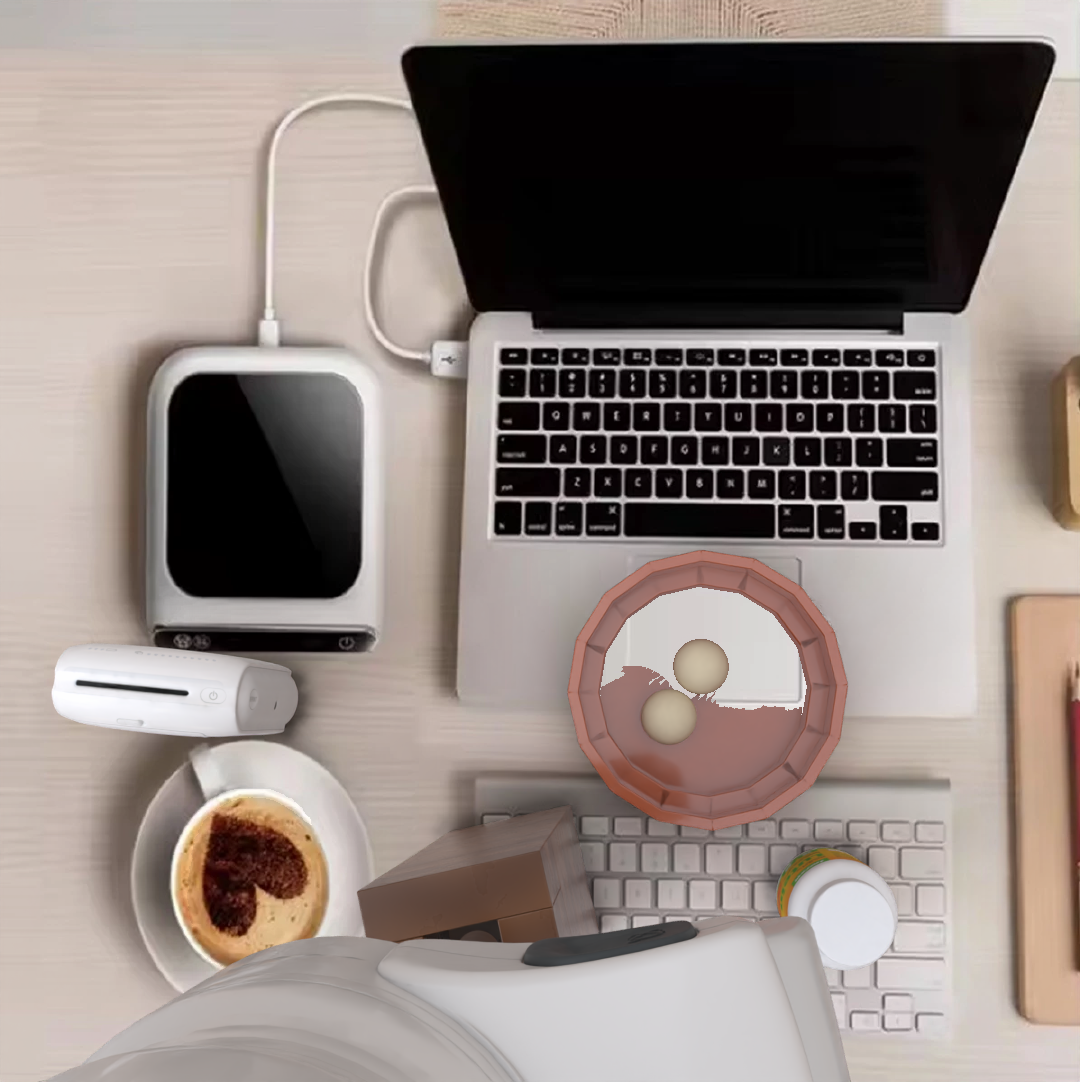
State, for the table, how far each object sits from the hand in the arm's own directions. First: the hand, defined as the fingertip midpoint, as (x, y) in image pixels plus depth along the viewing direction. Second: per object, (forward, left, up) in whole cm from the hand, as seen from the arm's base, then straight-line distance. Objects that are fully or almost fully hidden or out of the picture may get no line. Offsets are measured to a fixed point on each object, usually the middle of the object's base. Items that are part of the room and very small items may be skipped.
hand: (434, 1032), depth 38 cm
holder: (0, +1, -40) cm, 40 cm away
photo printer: (+14, +16, -40) cm, 45 cm away
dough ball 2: (+9, -11, -38) cm, 40 cm away
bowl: (+8, -11, -40) cm, 42 cm away
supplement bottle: (-5, -15, -40) cm, 43 cm away
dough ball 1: (+7, -9, -38) cm, 39 cm away
